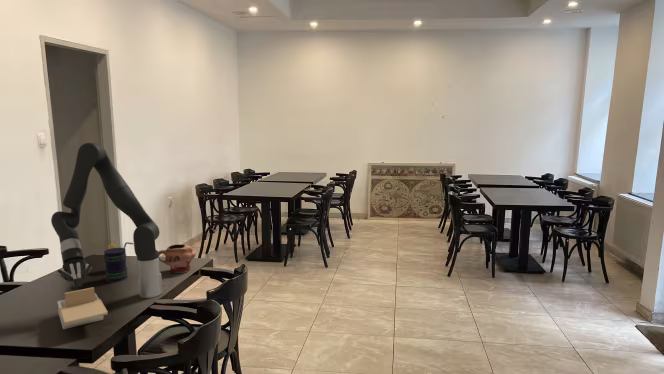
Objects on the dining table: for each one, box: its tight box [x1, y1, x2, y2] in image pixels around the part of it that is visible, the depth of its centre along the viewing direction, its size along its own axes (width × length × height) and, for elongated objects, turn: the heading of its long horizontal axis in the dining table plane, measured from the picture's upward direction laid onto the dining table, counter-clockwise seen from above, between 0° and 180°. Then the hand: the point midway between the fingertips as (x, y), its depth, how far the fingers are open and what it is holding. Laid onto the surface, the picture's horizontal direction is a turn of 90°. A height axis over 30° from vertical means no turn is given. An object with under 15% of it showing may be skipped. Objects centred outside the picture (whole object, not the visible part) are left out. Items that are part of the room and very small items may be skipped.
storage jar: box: [103, 247, 128, 283], centre depth 220 cm, size 10×10×15 cm
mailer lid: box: [60, 286, 109, 324], centre depth 166 cm, size 14×16×6 cm
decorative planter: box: [158, 243, 197, 274], centre depth 231 cm, size 20×12×14 cm, turn 103°
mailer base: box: [57, 292, 105, 330], centre depth 176 cm, size 14×16×6 cm
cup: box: [106, 241, 134, 252], centre depth 234 cm, size 14×8×15 cm, turn 95°
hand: (78, 288), depth 174 cm, fingers closed
